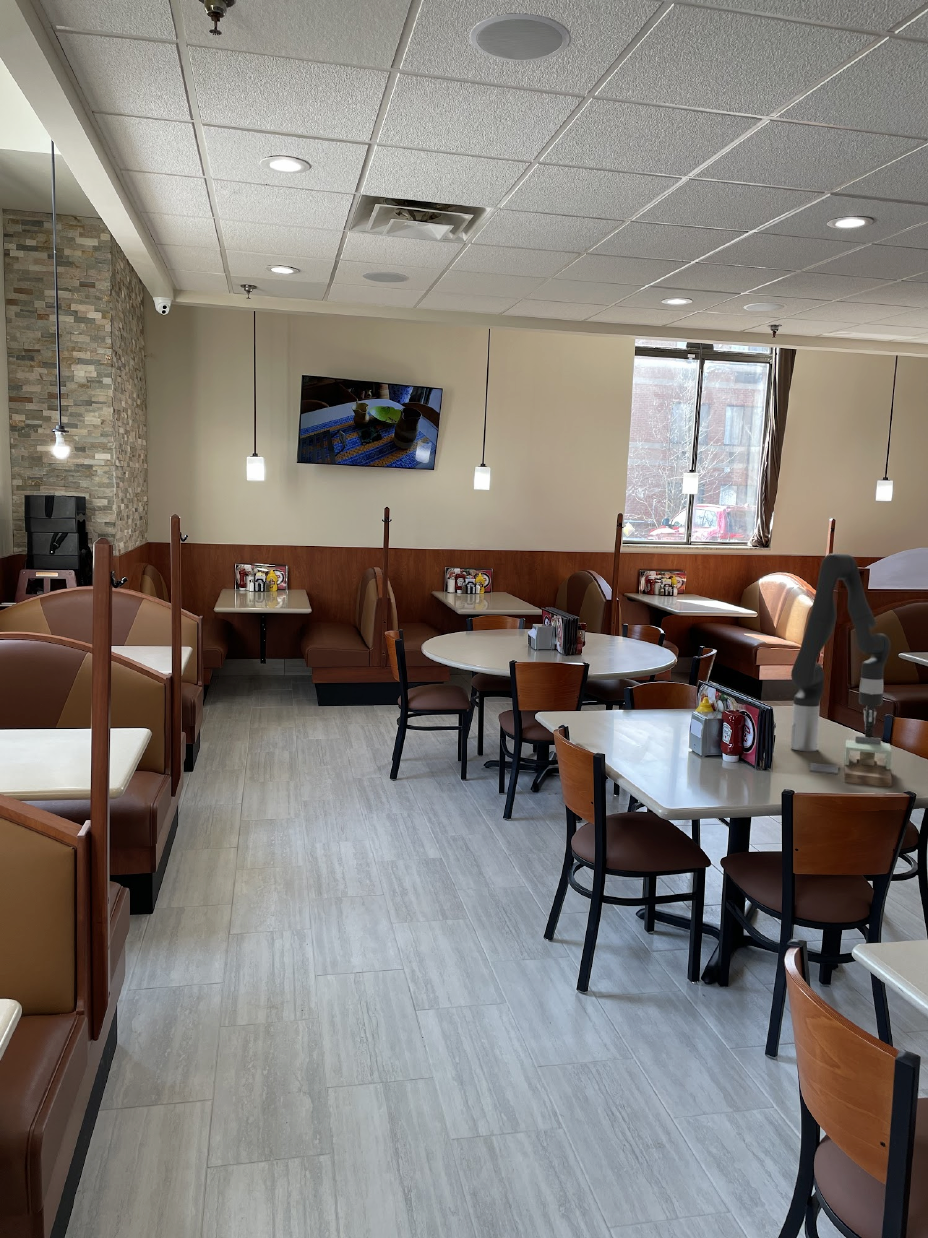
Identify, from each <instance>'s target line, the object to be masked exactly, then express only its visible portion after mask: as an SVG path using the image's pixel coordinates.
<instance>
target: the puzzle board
mask: <svg viewBox="0 0 928 1238" xmlns="http://www.w3.org/2000/svg"><path fill="white" fill-rule="evenodd" d="M859 761H860V755H854V754H850V755H849V765H845V758H844V761H843V763H844V767H843V768H844V771H843V772H844V783H850V784H858V785H867V786H876V787H887V788H891V787H892V773H891V768H890V769H886V764H885V757H884V758H882V757H875V760H874V766H873V765H863V764H859Z"/></svg>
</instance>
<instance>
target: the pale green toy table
mask: <svg viewBox="0 0 928 1238" xmlns="http://www.w3.org/2000/svg"><path fill="white" fill-rule="evenodd" d="M844 747H845V749H844V752H845V753H844V759H845V765H849V755H851V754H850V752H851V751H853V752H859V753H860V752H870V753H875V754H883V755H884V758H885V764H886V769H890V770H891V765H892V747H891V744H890V743H886V742H885V743H883V742H882V738H881V737H873V736H872V737H865V736H860V735H855V739H854V740H853V739H852V740H851V739H845V746H844Z"/></svg>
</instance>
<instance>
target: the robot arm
mask: <svg viewBox="0 0 928 1238" xmlns="http://www.w3.org/2000/svg"><path fill="white" fill-rule="evenodd" d="M819 568H820V569H819V574H818V580H817V584H816V585H817V586H816V590H815V595H814V599H813V602H812V607H811V610H810V612H809V616H808V620H807V623H806V628H805V631H804V634H803V638H802V641H801V645H800V649H799V652H798V654H797V656H796V659H795V661H794V662H793V663H794V664H793V666H792V668H791V672H790V673H791V675H790V676H791V677H790V678H791V681H792V683H793V684H794V685H795V686H796V687H798V688H799V689H798V691H797V692H796V694H795V695H794V696H793V707H792V723H791V738H790V740H791V741H790V749H791V750H795V751H800V752H816V751H818V740H819V737H818V736H819V725H820V724H819V722H820V721H819V719H820V705H821V704H820V703H821V699H822V698H823V692H824V683H825V671H824V669H823V667H822V665H821V664H820V663H819V662H817V660H818V658H819V655H820V653H821V651H822V649H823V648H824V647H825V645H826V644H827V643H828V641H829V639H830V637H831V636H832V634H833V631H834V628H835V625H836V621H837V617H838V614H837V612H838V611H837V608H836V604H835V599H834V593H835V592H834V591H835V588H836V584H837V581H839V580H841V581H842V582H843V583H844V585H845V587H846V589H847V593H848V594H847V597H848V598H847V611H848V614H849V617H850V619H851V622H852V624H853V626H854V632H855V640H856V646H857V648H858V650H859V651H860V652H861V653H862V654H864V655H867V656H868V655H871V656H870V658H869V659H867V660H864V661H863V662H862V663H861V672H860V673H861V674H860V682H859V690H858V691H859V692H858V703H859V704H860V705H862V706H866V707H865V708H863V721H864V722H863V723H864V729H865V730H864V731H865V733H864V737H873V730H874V729H875V727H874V726H875V724H876V716H877V709H875V707H880V706H882V705H883V702H884V701H883V700H884V673H885V672H884V669H885V665H886V663H887V659H888V656H889V654H890V650H891V640H890V639H889V637H888V636H887V634H885V633H871V630H872V629H874V628H875V627H876V624H877V622H876V618H875V616H874V615H873V611H872V609H871V607H870V606H869V602H868V600H867V598H866V597H867V596H866V595H865V590H864V587H863V583H862V579H861V574H860V570H859V567H858V564H857V562H856V559H855V558H854V557H853V556H852V555H851V554H844V553H828V554H826V556H824V558H823V559H822V562H821V564H820V567H819Z"/></svg>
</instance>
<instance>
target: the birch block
mask: <svg viewBox="0 0 928 1238" xmlns="http://www.w3.org/2000/svg"><path fill="white" fill-rule="evenodd" d="M859 756H860V761H859V764H863V765H873V766H874V760H875V758H876V753H870V752H860V751H859Z"/></svg>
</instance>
